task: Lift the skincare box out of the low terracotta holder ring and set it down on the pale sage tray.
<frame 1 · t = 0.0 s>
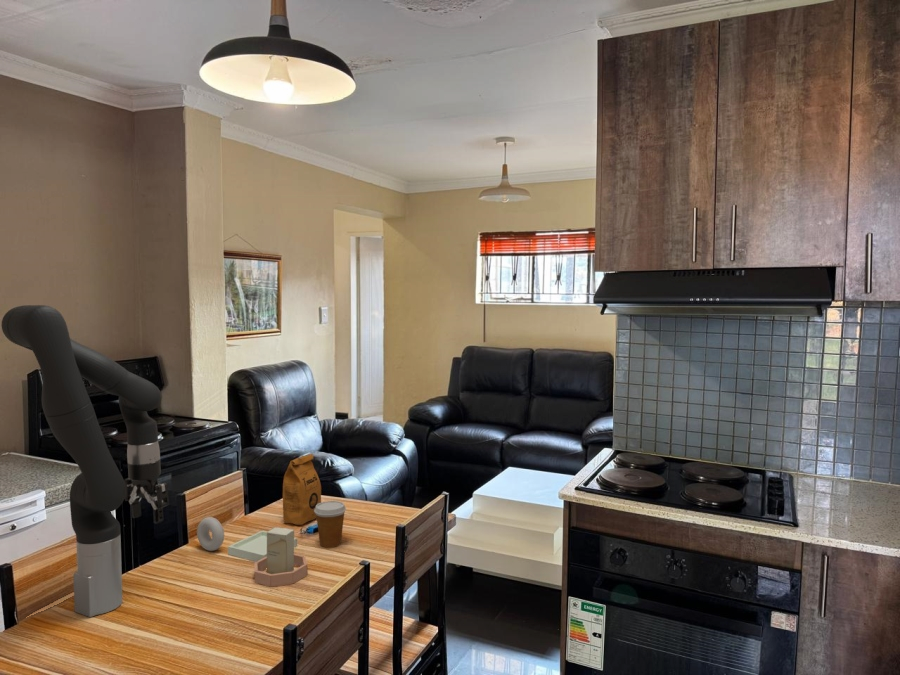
hand: (147, 519, 157), 17 cm above the table, tool pointing down, fingers open, 8 cm apart
coffee package: (302, 520, 204), on the table
tray: (263, 550, 179), on the table
disposable coffee cup: (330, 544, 184), on the table
skincare box: (280, 575, 163), resting in holder ring
holder ring: (280, 574, 163), on the table
donut: (210, 550, 179), on the table
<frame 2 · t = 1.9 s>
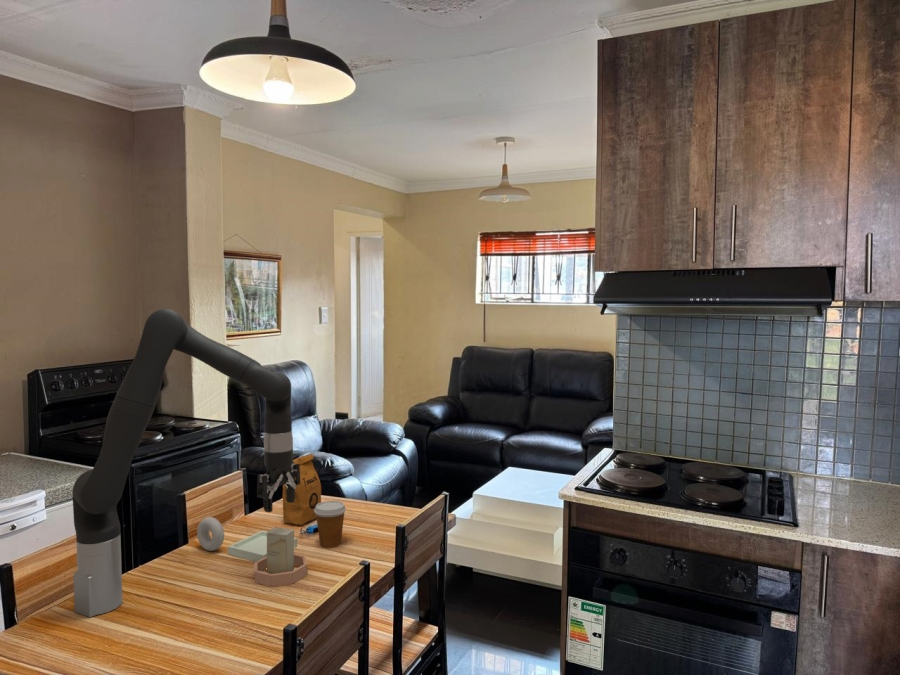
hand: (279, 506, 162), 19 cm above the table, tool pointing down, fingers open, 8 cm apart
nothing on the table moved.
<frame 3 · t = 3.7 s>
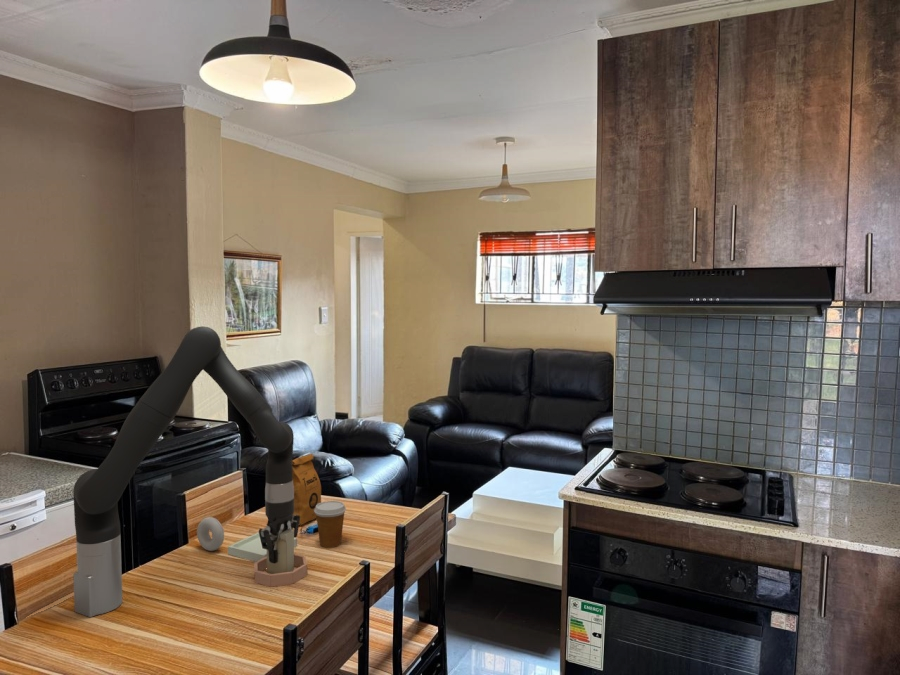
hand: (280, 558, 163), 4 cm above the table, tool pointing down, fingers closed on skincare box, 4 cm apart
skincare box: (280, 575, 163), resting in holder ring, touching gripper
everything else where it was.
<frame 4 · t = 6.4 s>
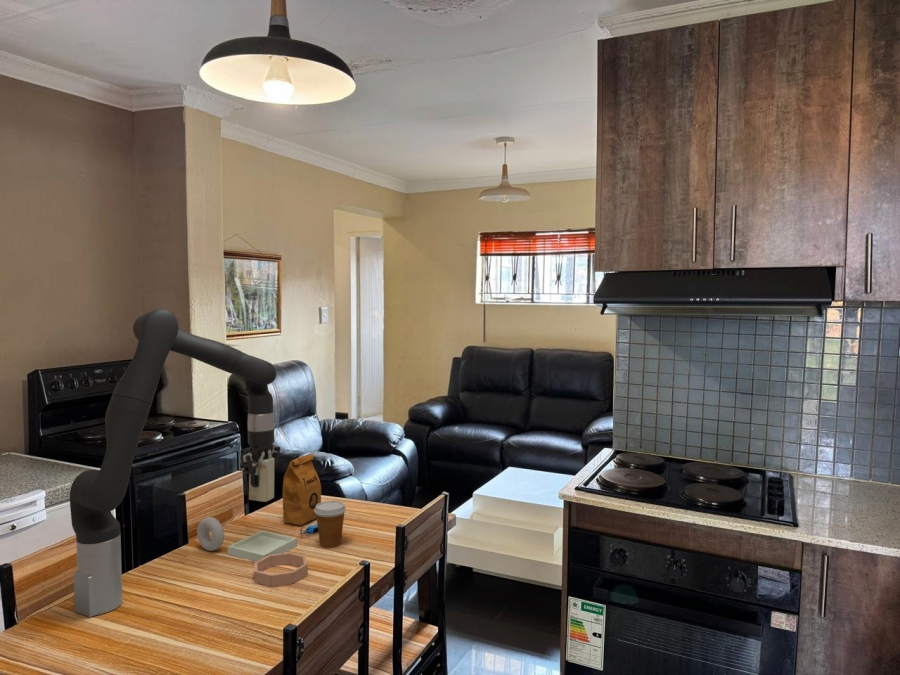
hand: (261, 484, 178), 20 cm above the table, tool pointing down, fingers closed on skincare box, 4 cm apart
skincare box: (262, 499, 178), point 15 cm above the table, touching gripper
everything else where it was.
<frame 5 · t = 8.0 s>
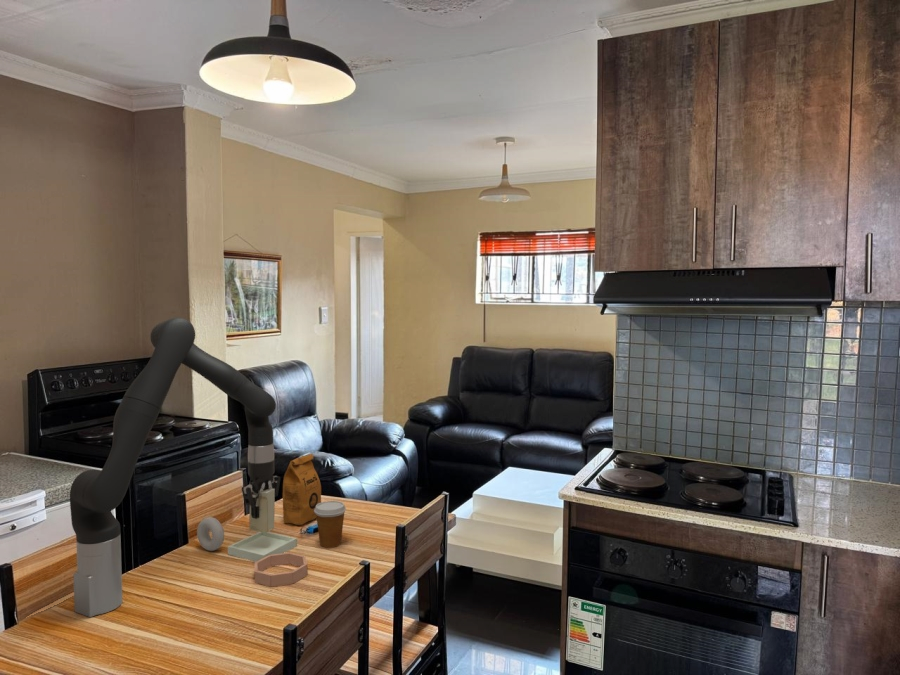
hand: (262, 514, 179), 11 cm above the table, tool pointing down, fingers closed on skincare box, 4 cm apart
skincare box: (262, 530, 179), point 6 cm above the table, touching gripper
everything else where it was.
when the fingers open (6 cm above the table, at t = 9.3 s): skincare box stays where it is, resting on tray.
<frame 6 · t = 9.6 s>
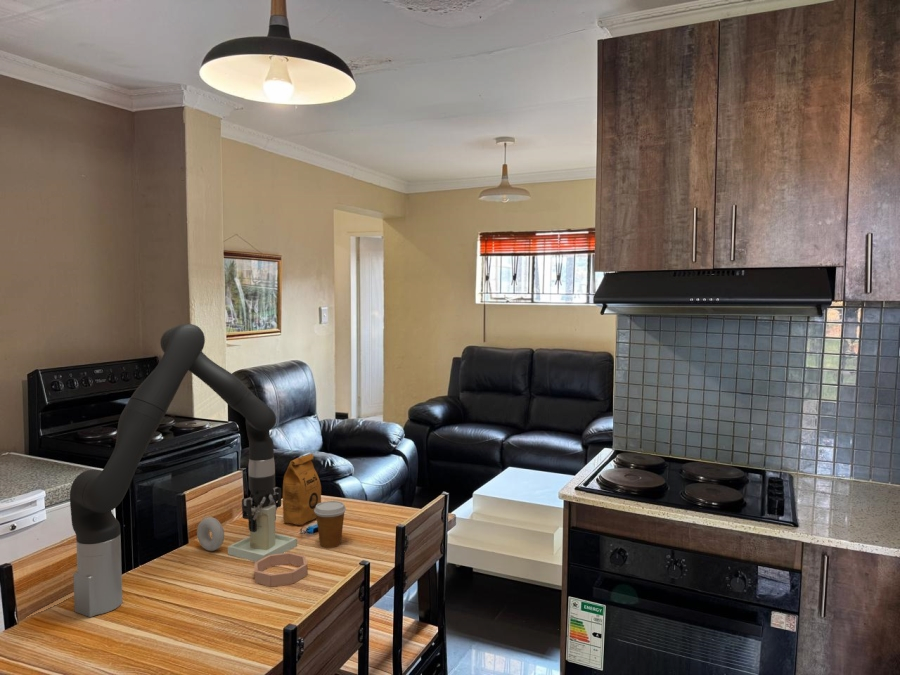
hand: (262, 527, 179), 7 cm above the table, tool pointing down, fingers open, 7 cm apart
skincare box: (263, 546, 179), point 1 cm above the table, touching tray
everything else where it was.
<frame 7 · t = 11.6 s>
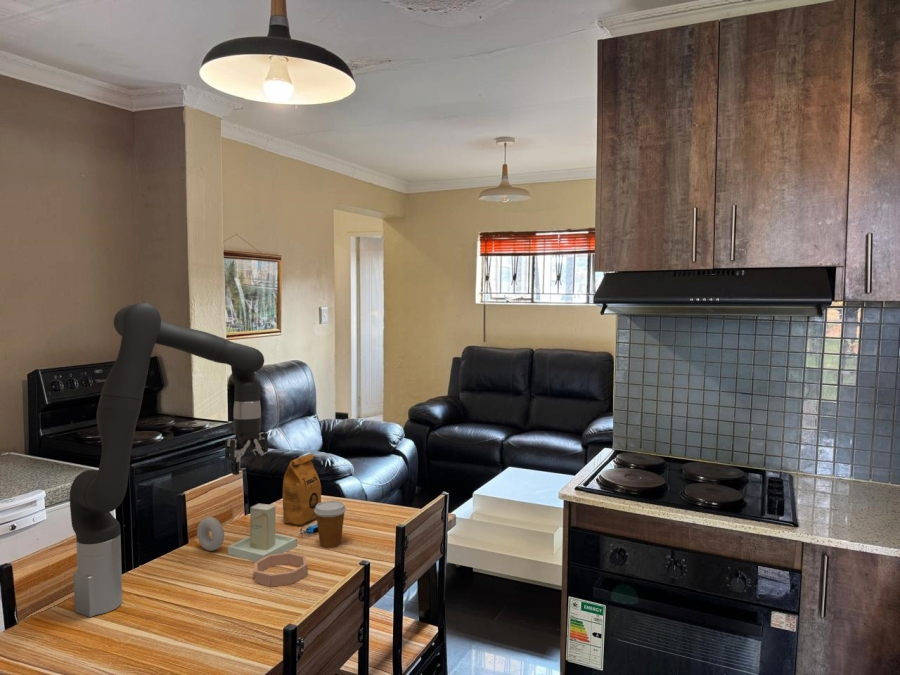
hand: (247, 471, 175), 25 cm above the table, tool pointing down, fingers open, 8 cm apart
nothing on the table moved.
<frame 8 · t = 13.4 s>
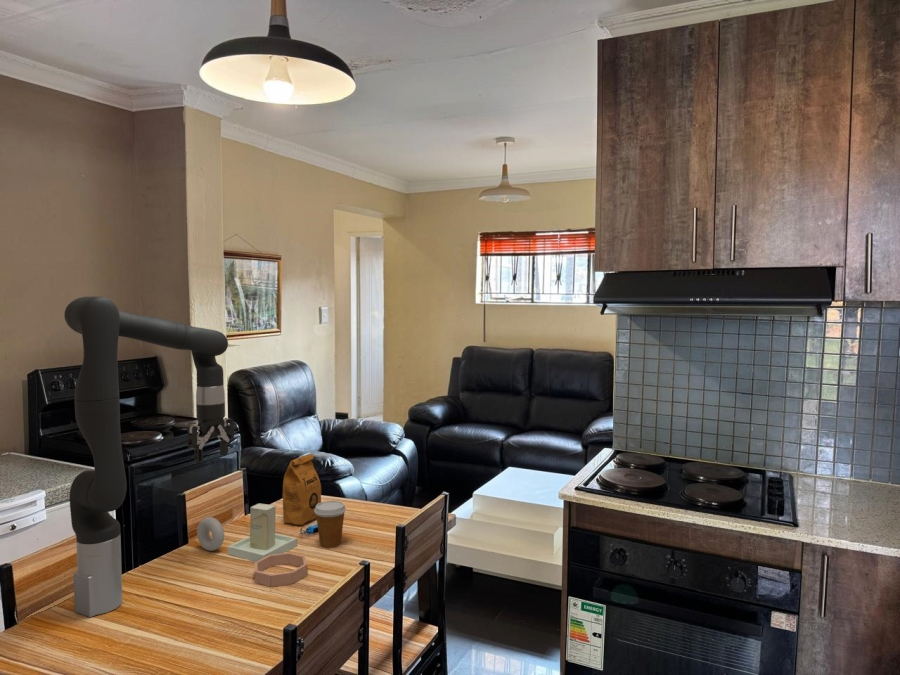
hand: (211, 458, 169), 30 cm above the table, tool pointing down, fingers open, 8 cm apart
nothing on the table moved.
at the end: skincare box inside the target area on the tray (0.0 cm from its centre), point 1.0 cm above the tray's base; the gripper is holding nothing; skincare box moved 18.9 cm from its start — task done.
